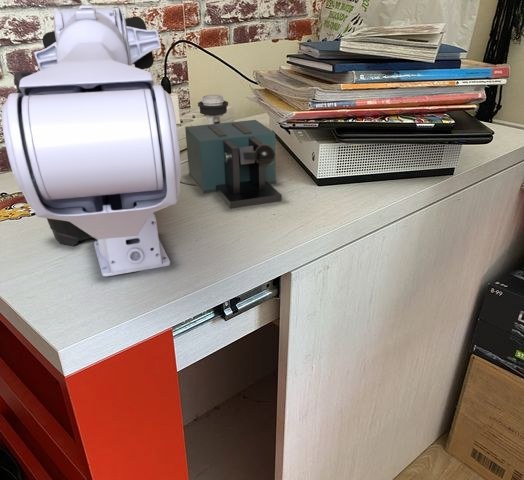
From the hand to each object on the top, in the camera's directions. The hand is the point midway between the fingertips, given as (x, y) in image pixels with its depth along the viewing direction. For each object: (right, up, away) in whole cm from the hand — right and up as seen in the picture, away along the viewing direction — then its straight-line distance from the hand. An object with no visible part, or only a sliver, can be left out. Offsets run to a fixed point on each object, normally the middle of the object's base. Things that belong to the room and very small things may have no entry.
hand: (101, 53), depth 71 cm
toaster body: (+16, -11, +17) cm, 26 cm away
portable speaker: (-2, -24, +1) cm, 24 cm away
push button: (+13, -3, +29) cm, 32 cm away
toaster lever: (+20, -13, +5) cm, 25 cm away
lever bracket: (+19, -15, +12) cm, 27 cm away
